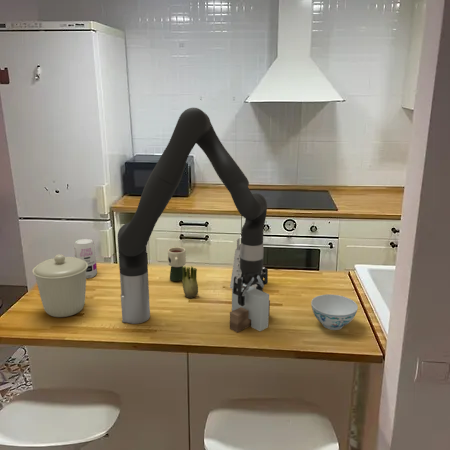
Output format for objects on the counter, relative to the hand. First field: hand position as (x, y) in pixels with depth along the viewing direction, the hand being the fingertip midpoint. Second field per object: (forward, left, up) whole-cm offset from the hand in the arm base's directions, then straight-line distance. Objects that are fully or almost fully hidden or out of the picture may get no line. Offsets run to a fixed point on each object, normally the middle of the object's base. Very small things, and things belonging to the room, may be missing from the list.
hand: (250, 301), depth 155 cm
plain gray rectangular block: (0, 0, -8) cm, 8 cm away
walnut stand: (0, 0, -8) cm, 8 cm away
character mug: (-22, +39, -8) cm, 46 cm away
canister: (-63, +18, -8) cm, 66 cm away
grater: (+5, +30, -8) cm, 32 cm away
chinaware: (+27, -6, -8) cm, 29 cm away
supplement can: (-59, +49, -8) cm, 77 cm away
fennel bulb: (-18, +23, -8) cm, 30 cm away
